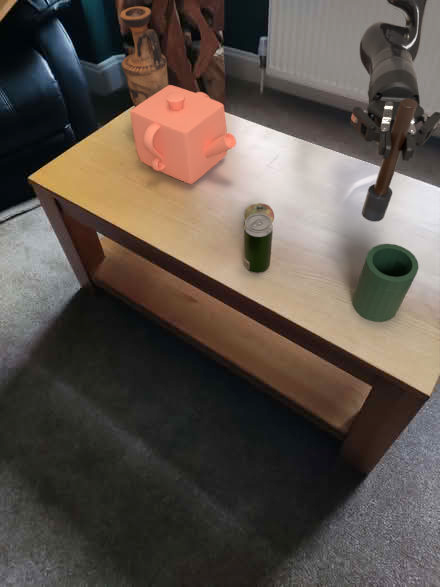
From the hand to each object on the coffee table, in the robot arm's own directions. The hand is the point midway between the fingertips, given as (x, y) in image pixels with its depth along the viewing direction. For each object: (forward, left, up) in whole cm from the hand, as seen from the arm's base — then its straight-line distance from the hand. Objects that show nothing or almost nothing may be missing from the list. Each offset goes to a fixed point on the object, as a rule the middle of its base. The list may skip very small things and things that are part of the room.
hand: (397, 154), depth 61 cm
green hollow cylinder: (-1, +6, -30) cm, 30 cm away
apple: (+8, -22, -30) cm, 38 cm away
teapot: (+12, -49, -30) cm, 59 cm away
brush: (-2, -2, -14) cm, 14 cm away
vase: (+15, -68, -30) cm, 76 cm away
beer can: (+14, -13, -30) cm, 36 cm away
